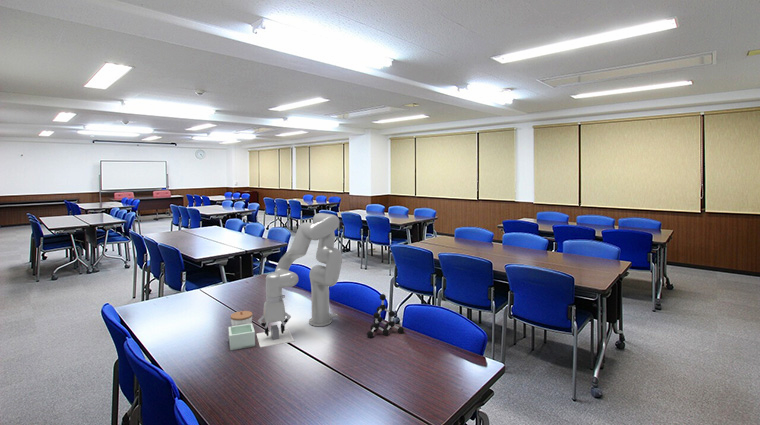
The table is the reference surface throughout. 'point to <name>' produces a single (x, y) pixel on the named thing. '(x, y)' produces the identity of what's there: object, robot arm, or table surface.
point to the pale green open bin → (241, 336)
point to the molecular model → (379, 319)
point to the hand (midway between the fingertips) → (274, 333)
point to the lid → (274, 337)
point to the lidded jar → (241, 318)
